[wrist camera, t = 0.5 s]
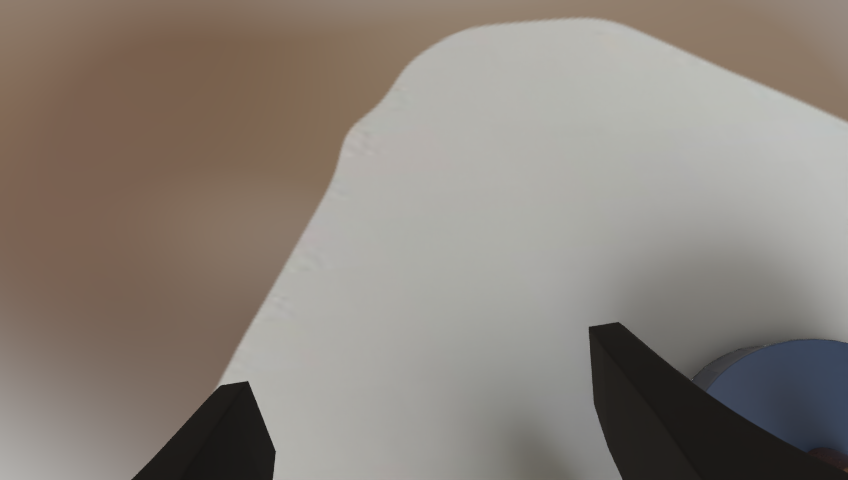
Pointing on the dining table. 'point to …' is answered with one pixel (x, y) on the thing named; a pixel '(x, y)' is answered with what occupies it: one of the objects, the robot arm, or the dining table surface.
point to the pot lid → (793, 394)
